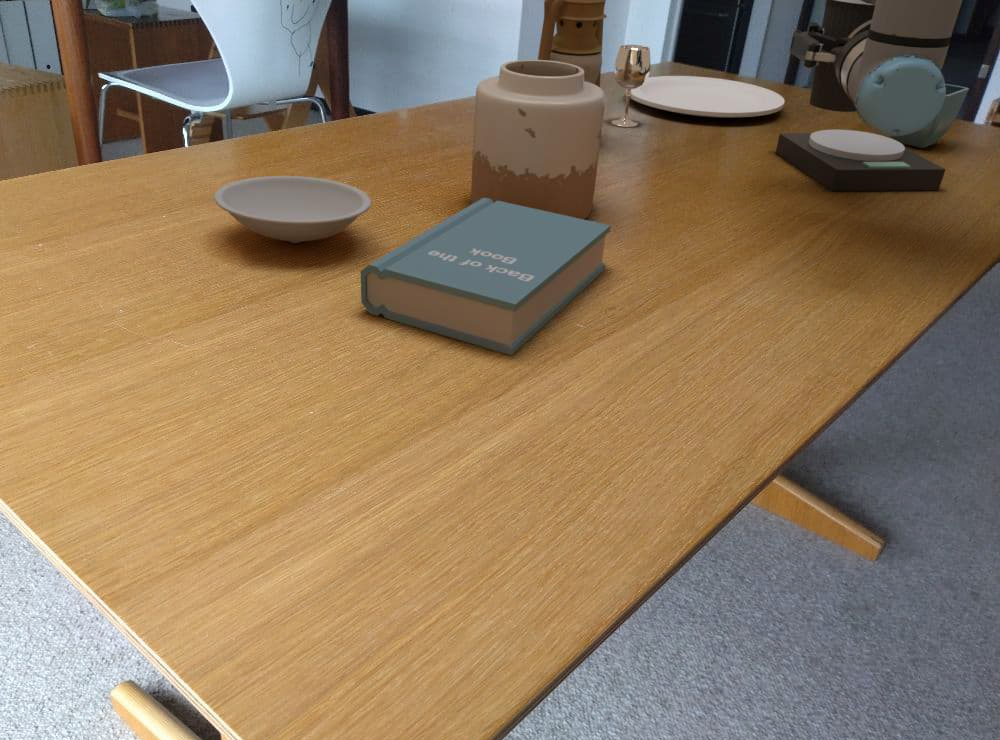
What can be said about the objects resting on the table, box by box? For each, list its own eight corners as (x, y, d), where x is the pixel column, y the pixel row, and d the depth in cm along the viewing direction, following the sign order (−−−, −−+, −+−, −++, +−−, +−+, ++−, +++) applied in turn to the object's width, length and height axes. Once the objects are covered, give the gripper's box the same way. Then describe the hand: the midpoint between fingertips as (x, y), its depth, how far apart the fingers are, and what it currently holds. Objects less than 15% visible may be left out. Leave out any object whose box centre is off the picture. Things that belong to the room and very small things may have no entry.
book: (511, 355, 78) (515, 304, 75) (361, 310, 84) (360, 262, 81) (604, 269, 95) (610, 225, 92) (474, 237, 101) (476, 195, 98)
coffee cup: (866, 101, 120) (901, -20, 112) (879, 118, 112) (917, -12, 104) (794, 94, 121) (823, -26, 113) (801, 110, 113) (833, -18, 105)
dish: (190, 249, 95) (184, 204, 93) (261, 208, 107) (258, 167, 104) (335, 278, 90) (333, 232, 88) (393, 232, 102) (393, 190, 99)
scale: (938, 190, 122) (948, 161, 120) (831, 191, 120) (839, 162, 118) (871, 152, 137) (879, 126, 135) (775, 152, 135) (781, 126, 133)
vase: (450, 214, 107) (454, 71, 98) (499, 180, 119) (507, 49, 110) (567, 238, 102) (584, 89, 93) (607, 200, 114) (624, 64, 105)
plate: (808, 109, 160) (811, 96, 159) (733, 136, 143) (736, 121, 141) (676, 81, 176) (678, 69, 175) (593, 102, 159) (595, 89, 157)
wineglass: (614, 128, 144) (624, 51, 138) (602, 119, 149) (611, 44, 142) (647, 127, 145) (658, 50, 139) (634, 118, 150) (644, 44, 144)
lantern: (552, 126, 144) (571, -83, 128) (612, 136, 140) (640, -78, 124) (512, 147, 133) (528, -79, 116) (576, 159, 128) (601, -73, 112)
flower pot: (874, 141, 143) (890, 84, 138) (898, 133, 148) (914, 77, 143) (928, 154, 137) (947, 95, 133) (951, 145, 143) (970, 87, 138)
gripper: (772, 97, 101) (758, 59, 120) (964, 112, 97) (919, 71, 116) (787, 27, 97) (770, -1, 116) (988, 40, 93) (937, 10, 112)
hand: (845, 35), depth 116 cm, fingers closed on coffee cup, 8 cm apart
